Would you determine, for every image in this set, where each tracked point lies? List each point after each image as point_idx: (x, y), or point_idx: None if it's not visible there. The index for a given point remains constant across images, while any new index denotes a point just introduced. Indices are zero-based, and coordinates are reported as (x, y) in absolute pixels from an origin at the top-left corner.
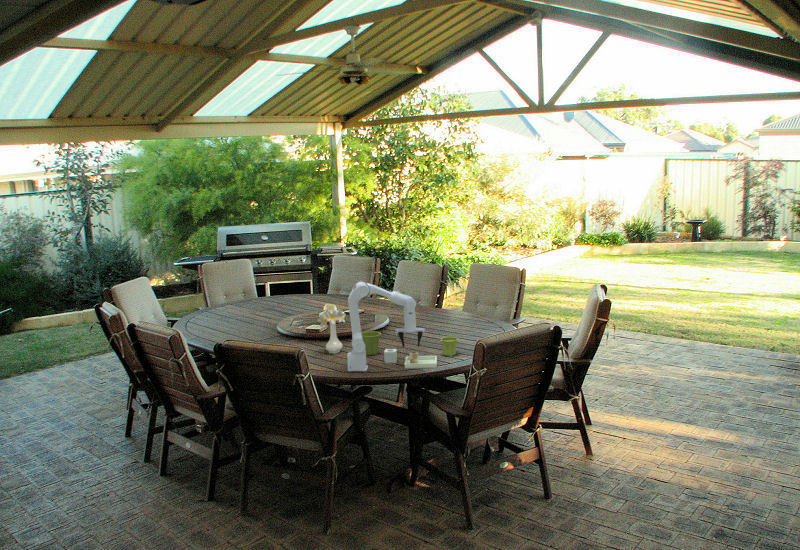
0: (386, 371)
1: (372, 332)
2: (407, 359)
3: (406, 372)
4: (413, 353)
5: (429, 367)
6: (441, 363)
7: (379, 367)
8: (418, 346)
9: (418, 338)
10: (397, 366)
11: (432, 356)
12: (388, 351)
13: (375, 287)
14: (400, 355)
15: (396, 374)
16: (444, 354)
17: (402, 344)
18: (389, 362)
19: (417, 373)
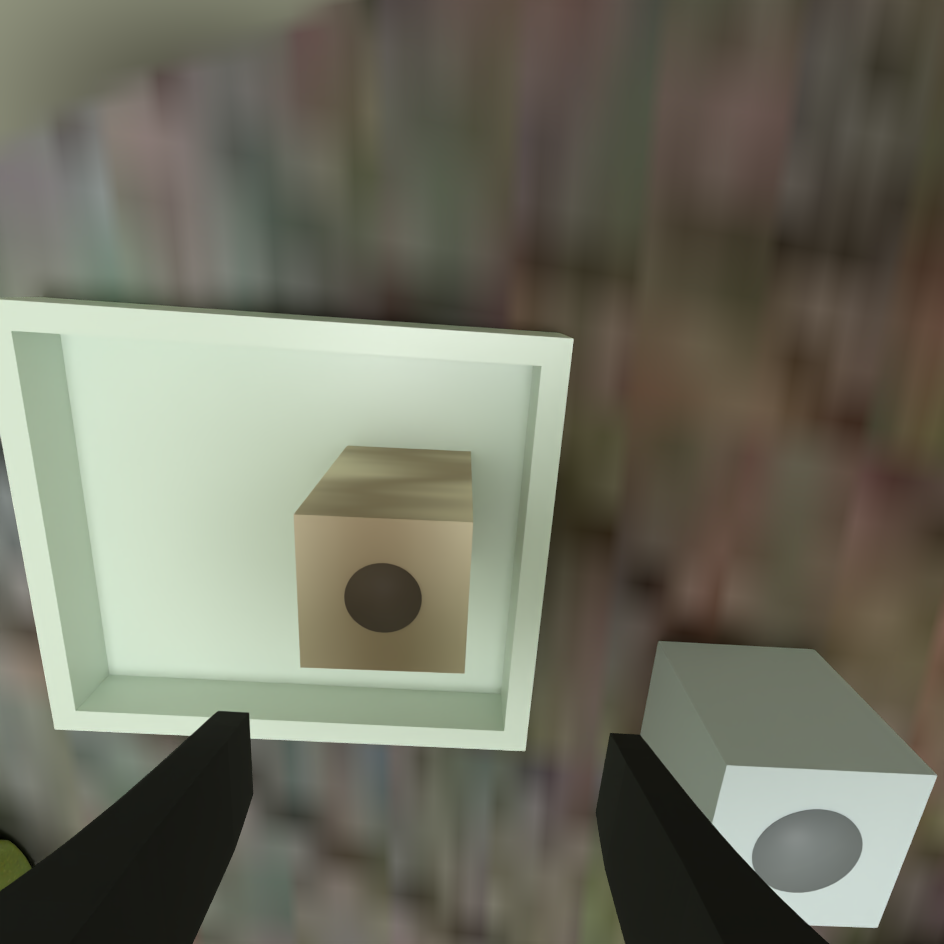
0: (861, 247)
1: None
2: (503, 688)
3: (542, 130)
4: (387, 548)
5: (154, 306)
6: (11, 536)
7: (924, 475)
8: (227, 716)
9: (45, 934)
10: (658, 485)
11: (121, 708)
12: (851, 806)
13: None
14: (577, 908)
15: (724, 27)
16: (22, 863)
17: (678, 783)
18: (755, 651)
19: (350, 29)
